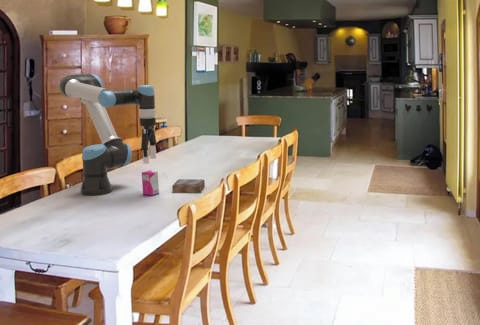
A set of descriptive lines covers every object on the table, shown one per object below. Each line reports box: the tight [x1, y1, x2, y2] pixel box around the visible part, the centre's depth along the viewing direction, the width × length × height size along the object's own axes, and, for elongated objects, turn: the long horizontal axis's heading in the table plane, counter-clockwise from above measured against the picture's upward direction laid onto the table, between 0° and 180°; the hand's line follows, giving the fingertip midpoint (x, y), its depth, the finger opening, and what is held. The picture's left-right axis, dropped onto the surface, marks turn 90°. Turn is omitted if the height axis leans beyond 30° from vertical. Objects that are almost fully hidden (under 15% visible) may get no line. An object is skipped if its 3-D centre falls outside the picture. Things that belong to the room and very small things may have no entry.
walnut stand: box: [171, 178, 206, 194], centre depth 293 cm, size 14×14×4 cm
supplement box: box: [141, 170, 160, 197], centre depth 283 cm, size 6×6×12 cm
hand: (149, 161), depth 281 cm, fingers open, 13 cm apart
